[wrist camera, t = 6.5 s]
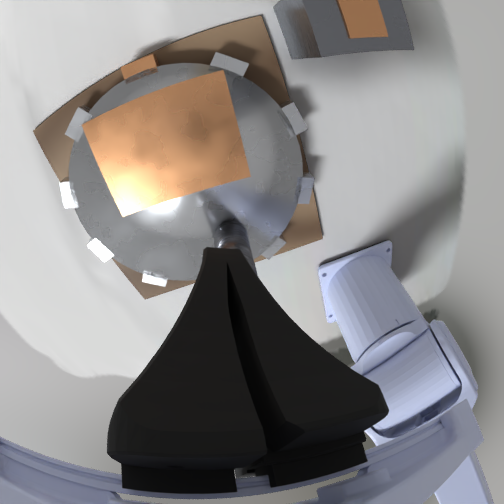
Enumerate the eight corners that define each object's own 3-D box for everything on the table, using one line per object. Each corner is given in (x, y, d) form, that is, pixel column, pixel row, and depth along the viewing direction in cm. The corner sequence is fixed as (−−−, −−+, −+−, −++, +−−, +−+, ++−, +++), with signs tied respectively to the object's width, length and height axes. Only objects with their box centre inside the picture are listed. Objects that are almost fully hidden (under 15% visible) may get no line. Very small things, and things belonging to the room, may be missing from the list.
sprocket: (353, 126, 16) (399, 151, 12) (240, 299, 25) (249, 348, 21) (111, 21, 10) (72, 6, 5) (56, 245, 18) (30, 291, 14)
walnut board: (321, 237, 23) (322, 238, 23) (145, 297, 24) (145, 299, 24) (260, 16, 12) (261, 15, 11) (34, 130, 13) (32, 131, 13)
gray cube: (369, 48, 13) (415, 50, 9) (291, 59, 14) (322, 57, 10) (354, 0, 11) (398, -12, 7) (272, 7, 11) (297, -14, 7)
